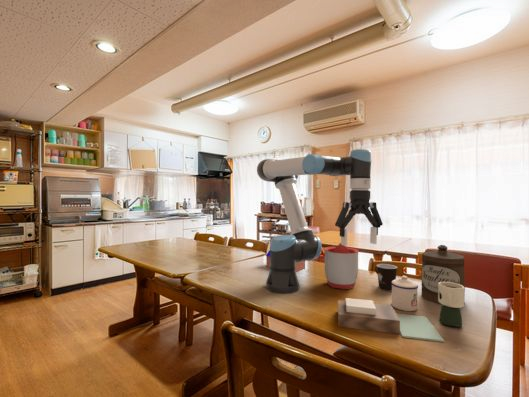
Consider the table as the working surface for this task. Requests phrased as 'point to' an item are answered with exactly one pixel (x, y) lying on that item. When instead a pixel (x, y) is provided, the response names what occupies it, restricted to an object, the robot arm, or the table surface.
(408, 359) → the table surface
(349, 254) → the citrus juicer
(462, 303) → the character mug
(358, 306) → the tile
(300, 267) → the house
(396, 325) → the block
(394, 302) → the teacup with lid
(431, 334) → the mat
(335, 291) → the table surface
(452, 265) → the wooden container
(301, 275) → the table surface
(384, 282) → the coffee mug
